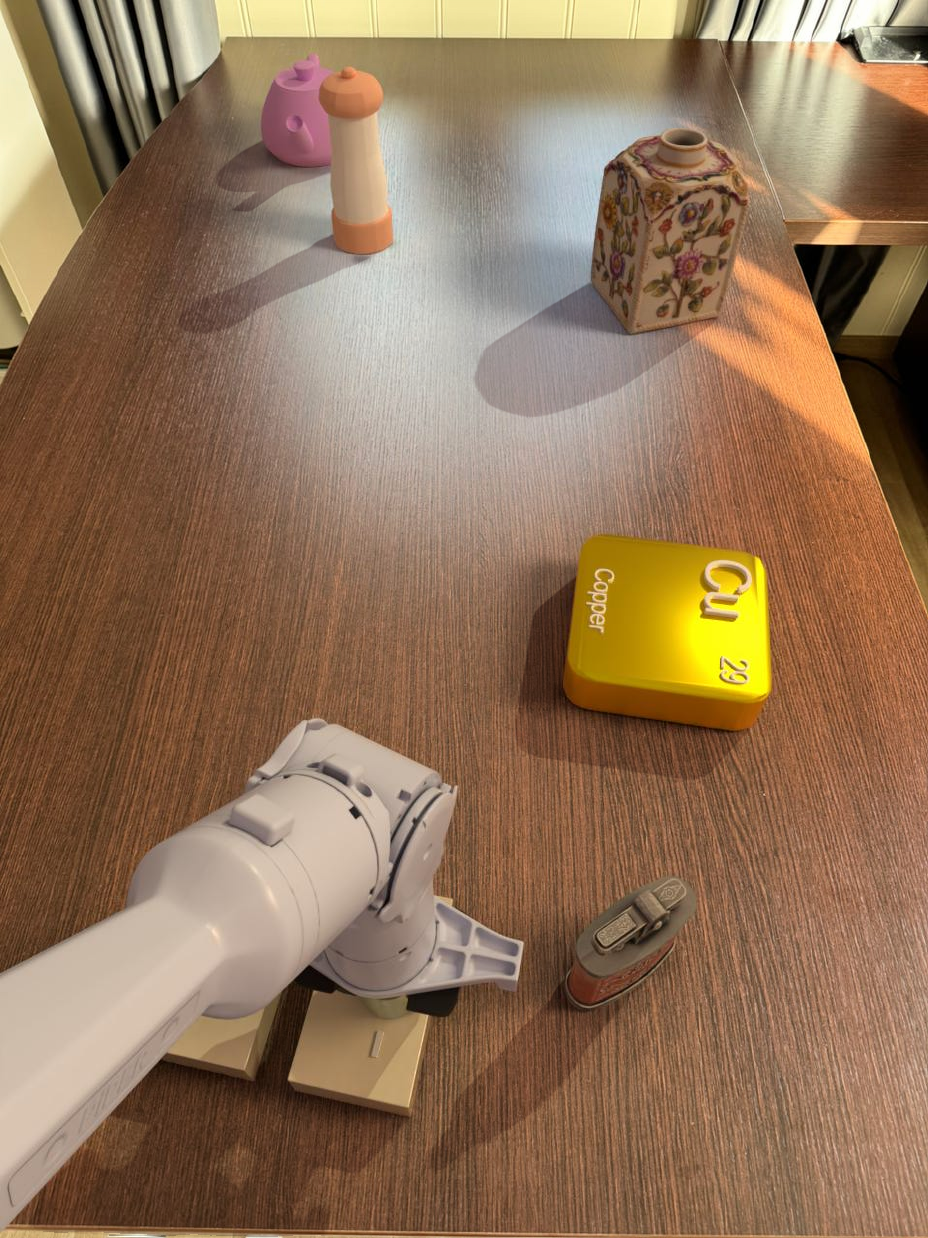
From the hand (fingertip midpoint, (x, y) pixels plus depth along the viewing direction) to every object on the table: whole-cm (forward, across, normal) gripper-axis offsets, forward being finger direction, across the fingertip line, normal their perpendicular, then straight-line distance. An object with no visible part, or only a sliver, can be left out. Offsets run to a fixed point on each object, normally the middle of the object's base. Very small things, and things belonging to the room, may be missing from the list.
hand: (391, 984), depth 53 cm
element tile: (+4, -14, -31) cm, 34 cm away
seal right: (+1, 0, 0) cm, 1 cm away
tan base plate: (+4, +10, 0) cm, 11 cm away
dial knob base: (+4, +1, 0) cm, 4 cm away
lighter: (+4, -14, -5) cm, 15 cm away
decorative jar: (+4, -10, -80) cm, 81 cm away
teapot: (+4, +39, -107) cm, 114 cm away
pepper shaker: (+4, +26, -86) cm, 90 cm away
